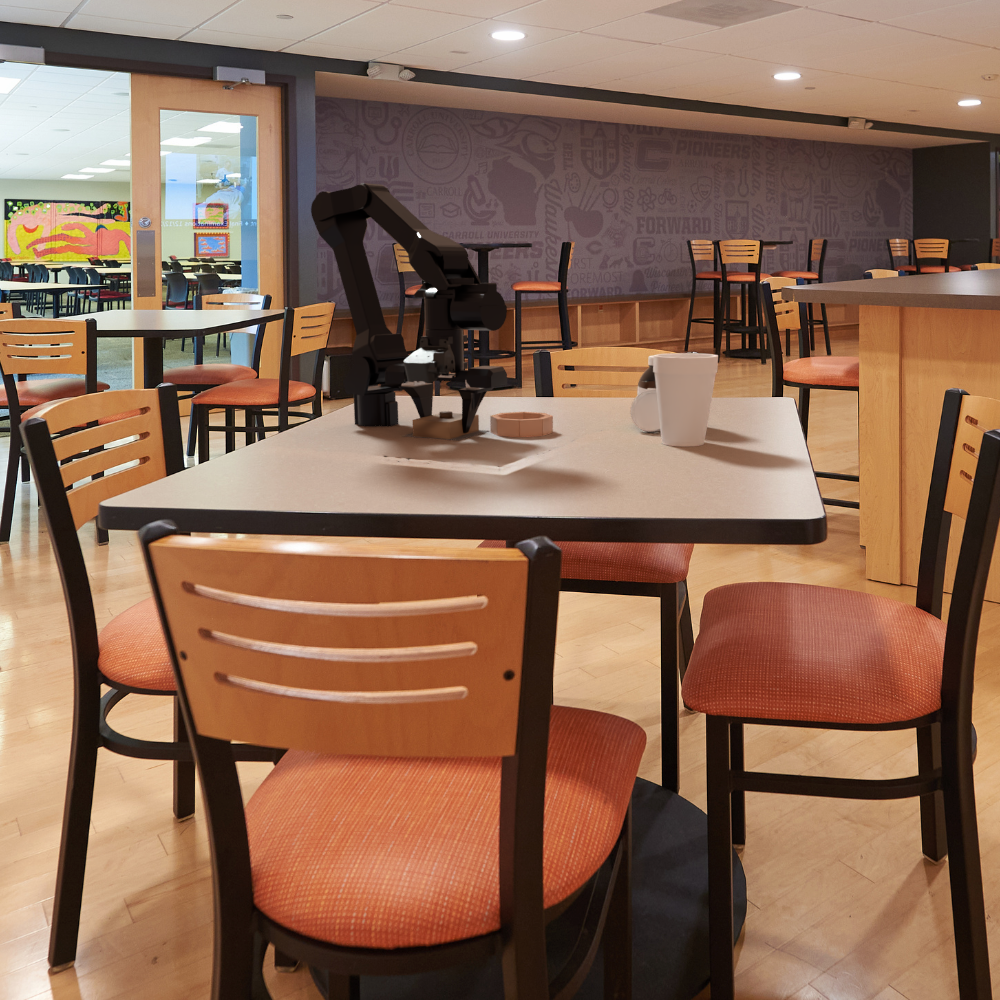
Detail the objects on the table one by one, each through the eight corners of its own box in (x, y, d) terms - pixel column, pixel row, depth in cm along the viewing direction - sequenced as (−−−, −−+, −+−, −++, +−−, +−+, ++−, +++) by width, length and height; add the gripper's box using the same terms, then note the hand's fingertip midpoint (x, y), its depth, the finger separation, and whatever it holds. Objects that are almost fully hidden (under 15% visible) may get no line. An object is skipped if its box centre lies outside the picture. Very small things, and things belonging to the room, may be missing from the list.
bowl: (482, 440, 151) (482, 418, 151) (509, 432, 159) (508, 410, 158) (535, 444, 147) (535, 421, 146) (559, 435, 155) (559, 413, 154)
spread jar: (692, 423, 167) (694, 354, 165) (708, 433, 156) (711, 359, 154) (622, 424, 167) (623, 355, 164) (633, 434, 156) (634, 360, 153)
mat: (401, 442, 150) (401, 435, 150) (435, 433, 159) (435, 426, 159) (458, 446, 146) (458, 440, 146) (490, 437, 155) (490, 430, 154)
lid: (413, 436, 150) (412, 414, 149) (443, 428, 158) (442, 407, 157) (449, 439, 147) (449, 417, 146) (478, 430, 155) (478, 409, 154)
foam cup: (714, 449, 142) (718, 358, 139) (650, 447, 144) (652, 357, 141) (714, 438, 151) (717, 353, 148) (653, 437, 153) (655, 352, 150)
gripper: (362, 330, 146) (366, 435, 150) (472, 333, 138) (473, 443, 141) (403, 327, 156) (406, 425, 159) (508, 329, 147) (509, 432, 151)
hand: (446, 431), depth 152 cm, fingers closed on lid, 6 cm apart
